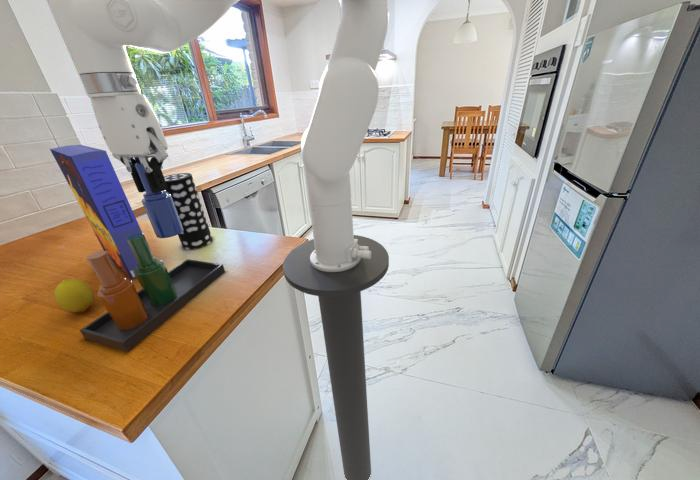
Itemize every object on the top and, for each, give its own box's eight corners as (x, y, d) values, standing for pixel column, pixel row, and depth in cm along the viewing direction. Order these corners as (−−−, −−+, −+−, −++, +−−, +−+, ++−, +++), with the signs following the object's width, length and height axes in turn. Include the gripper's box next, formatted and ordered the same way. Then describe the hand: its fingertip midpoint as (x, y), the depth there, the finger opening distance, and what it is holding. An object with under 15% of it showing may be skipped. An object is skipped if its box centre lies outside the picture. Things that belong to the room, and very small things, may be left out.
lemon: (92, 299, 65) (74, 269, 61) (105, 306, 62) (87, 275, 58) (62, 315, 60) (40, 284, 57) (74, 323, 58) (53, 291, 54)
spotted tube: (175, 248, 84) (149, 181, 75) (196, 235, 91) (174, 172, 82) (199, 250, 82) (174, 182, 73) (218, 237, 89) (198, 173, 80)
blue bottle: (189, 228, 64) (164, 159, 57) (169, 239, 59) (139, 166, 52) (171, 226, 65) (144, 159, 58) (150, 237, 61) (119, 165, 54)
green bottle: (182, 292, 63) (157, 231, 56) (162, 308, 59) (132, 244, 52) (164, 289, 65) (137, 229, 58) (144, 303, 61) (112, 241, 54)
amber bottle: (154, 314, 58) (122, 248, 51) (130, 333, 53) (91, 264, 46) (136, 309, 59) (102, 245, 52) (110, 327, 55) (70, 260, 48)
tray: (225, 272, 71) (222, 264, 70) (128, 352, 50) (122, 342, 49) (190, 266, 75) (187, 259, 74) (85, 339, 54) (79, 330, 53)
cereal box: (106, 254, 84) (49, 147, 70) (129, 246, 88) (80, 143, 74) (132, 279, 71) (69, 155, 57) (158, 268, 75) (105, 149, 61)
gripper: (167, 83, 50) (199, 186, 58) (102, 89, 55) (141, 183, 63) (125, 83, 44) (168, 199, 52) (57, 90, 49) (106, 195, 57)
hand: (153, 189), depth 58 cm, fingers closed on blue bottle, 2 cm apart
